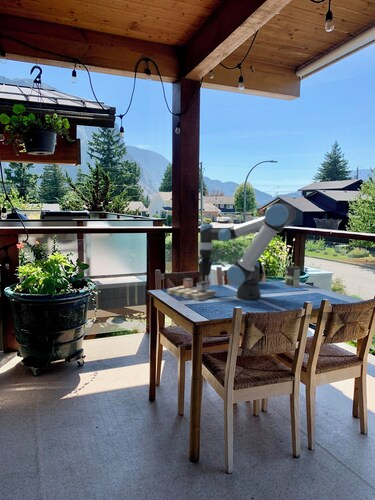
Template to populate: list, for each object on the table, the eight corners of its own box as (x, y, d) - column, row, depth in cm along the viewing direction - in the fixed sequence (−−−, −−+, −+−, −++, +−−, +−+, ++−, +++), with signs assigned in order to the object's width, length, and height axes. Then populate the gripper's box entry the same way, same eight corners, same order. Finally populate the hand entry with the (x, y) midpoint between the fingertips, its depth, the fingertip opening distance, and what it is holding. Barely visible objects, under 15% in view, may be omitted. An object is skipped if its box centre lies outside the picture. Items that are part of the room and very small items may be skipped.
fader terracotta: (193, 286, 241) (193, 278, 241) (187, 287, 237) (188, 279, 237) (188, 285, 244) (188, 277, 244) (182, 286, 240) (183, 279, 240)
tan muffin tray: (215, 296, 231) (215, 290, 230) (198, 300, 218) (198, 295, 217) (183, 289, 247) (184, 284, 247) (166, 293, 234) (166, 288, 234)
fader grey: (206, 290, 230) (207, 282, 229) (201, 292, 226) (201, 283, 225) (201, 289, 233) (201, 281, 232) (196, 291, 228) (196, 282, 228)
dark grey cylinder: (255, 289, 251) (256, 262, 249) (230, 285, 263) (231, 259, 261) (267, 285, 267) (269, 259, 265) (243, 281, 279) (244, 257, 277)
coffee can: (285, 286, 263) (286, 267, 262) (283, 283, 273) (284, 265, 272) (300, 287, 262) (301, 268, 260) (298, 284, 272) (299, 265, 270)
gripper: (207, 247, 236) (206, 283, 239) (194, 249, 226) (193, 286, 229) (216, 248, 231) (215, 285, 234) (204, 250, 222) (202, 288, 224)
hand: (204, 285), depth 232 cm, fingers closed
